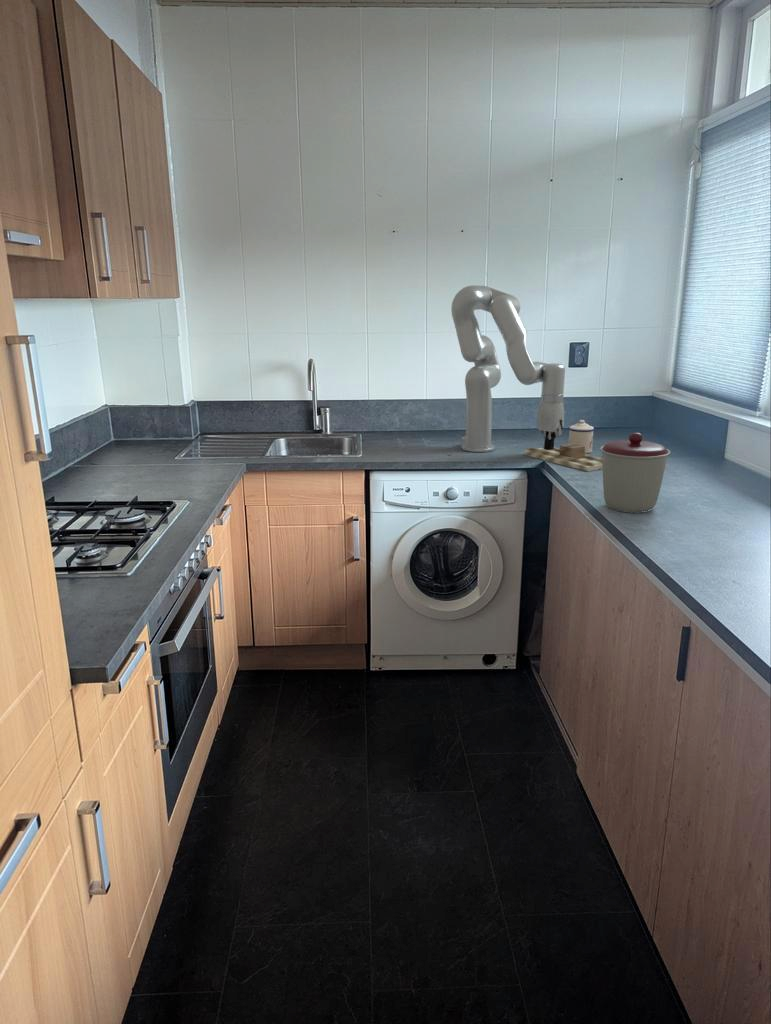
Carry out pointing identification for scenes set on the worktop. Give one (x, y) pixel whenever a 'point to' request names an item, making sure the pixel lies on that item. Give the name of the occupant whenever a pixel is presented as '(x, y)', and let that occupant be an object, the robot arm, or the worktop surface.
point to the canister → (632, 473)
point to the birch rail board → (565, 459)
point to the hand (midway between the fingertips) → (548, 449)
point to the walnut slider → (572, 450)
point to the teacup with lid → (581, 435)
